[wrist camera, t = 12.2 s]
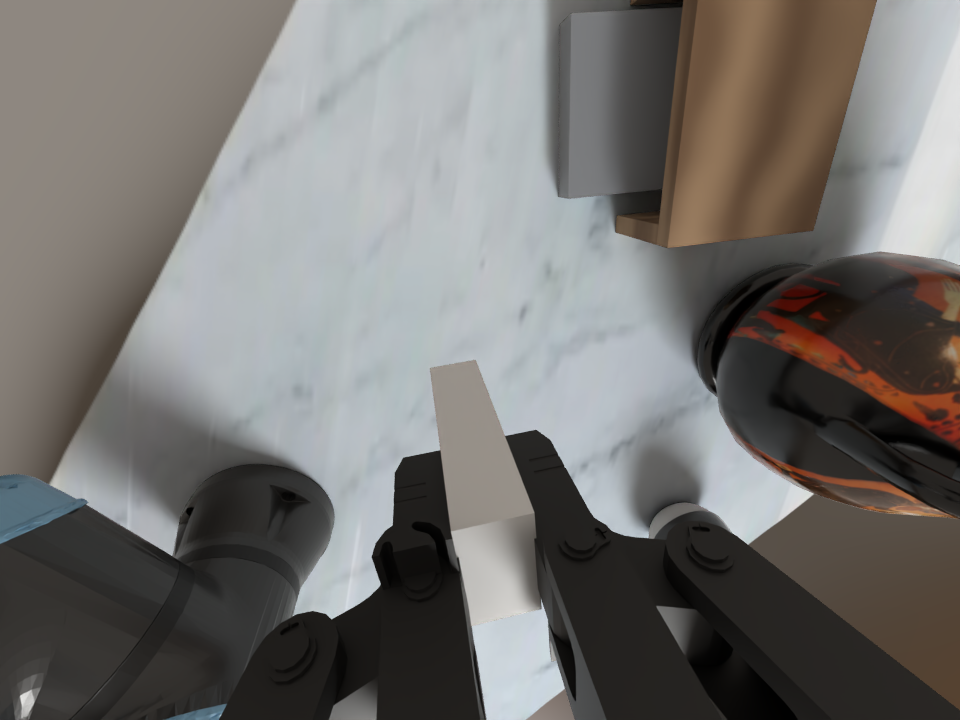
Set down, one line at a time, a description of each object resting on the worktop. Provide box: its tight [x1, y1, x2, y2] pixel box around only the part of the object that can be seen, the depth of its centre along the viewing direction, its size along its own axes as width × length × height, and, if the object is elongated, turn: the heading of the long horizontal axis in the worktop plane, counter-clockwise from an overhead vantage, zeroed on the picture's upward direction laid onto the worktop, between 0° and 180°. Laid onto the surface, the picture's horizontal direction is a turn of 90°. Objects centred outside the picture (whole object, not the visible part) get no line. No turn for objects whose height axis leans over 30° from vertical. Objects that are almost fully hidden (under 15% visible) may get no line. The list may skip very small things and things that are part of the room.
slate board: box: [558, 7, 683, 199], centre depth 32 cm, size 16×12×3 cm
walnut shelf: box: [616, 0, 877, 248], centre depth 30 cm, size 12×18×8 cm, turn 5°
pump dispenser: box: [649, 503, 732, 540], centre depth 49 cm, size 10×10×15 cm
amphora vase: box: [697, 252, 960, 519], centre depth 32 cm, size 22×22×28 cm
